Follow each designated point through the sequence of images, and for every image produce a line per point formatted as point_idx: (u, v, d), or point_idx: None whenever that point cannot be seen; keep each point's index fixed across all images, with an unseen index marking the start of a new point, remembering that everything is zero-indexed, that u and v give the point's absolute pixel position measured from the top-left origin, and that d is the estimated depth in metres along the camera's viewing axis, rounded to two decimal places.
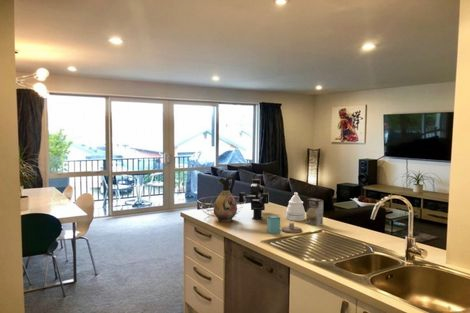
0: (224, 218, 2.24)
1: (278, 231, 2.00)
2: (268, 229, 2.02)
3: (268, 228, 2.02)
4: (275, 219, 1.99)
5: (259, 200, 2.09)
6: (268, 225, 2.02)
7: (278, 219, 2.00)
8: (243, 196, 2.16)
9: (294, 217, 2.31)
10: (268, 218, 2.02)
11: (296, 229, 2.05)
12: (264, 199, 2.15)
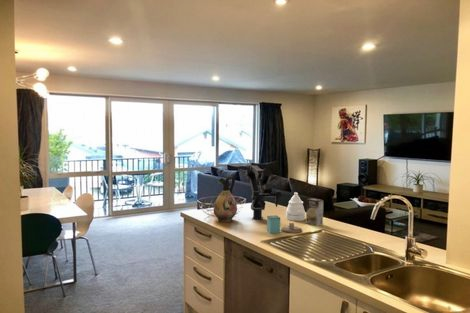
0: (224, 218, 2.24)
1: (278, 231, 2.00)
2: (268, 229, 2.02)
3: (268, 228, 2.02)
4: (275, 219, 1.99)
5: None
6: (268, 225, 2.02)
7: (278, 219, 2.00)
8: (259, 199, 2.10)
9: (294, 217, 2.31)
10: (268, 218, 2.02)
11: (296, 229, 2.05)
12: None
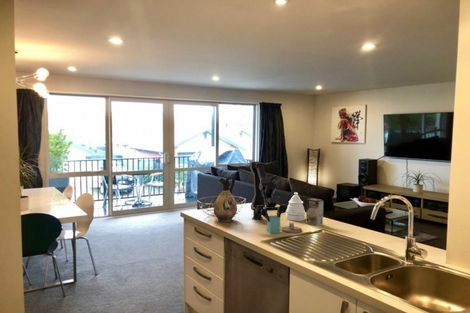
0: (224, 218, 2.24)
1: (278, 231, 2.00)
2: (268, 229, 2.02)
3: (268, 228, 2.02)
4: (275, 219, 1.99)
5: None
6: (268, 225, 2.02)
7: (278, 219, 2.00)
8: (265, 213, 2.02)
9: (294, 217, 2.31)
10: None
11: (296, 229, 2.05)
12: None
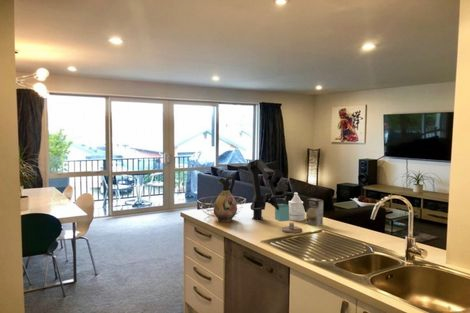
0: (224, 218, 2.24)
1: (287, 219, 2.01)
2: (277, 217, 2.02)
3: (277, 216, 2.02)
4: (284, 207, 2.00)
5: None
6: (277, 213, 2.02)
7: (287, 207, 2.01)
8: (274, 201, 2.02)
9: (294, 217, 2.31)
10: None
11: (296, 229, 2.05)
12: None
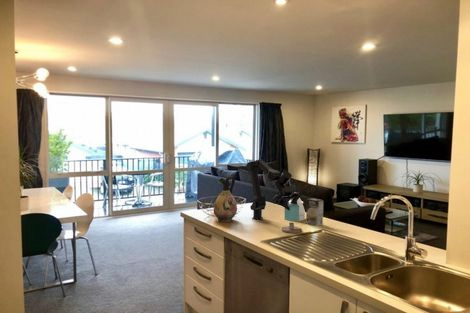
0: (224, 218, 2.24)
1: (297, 219, 2.04)
2: (287, 217, 2.04)
3: (287, 216, 2.04)
4: (295, 207, 2.03)
5: None
6: (287, 213, 2.04)
7: (297, 207, 2.04)
8: (284, 202, 2.04)
9: None
10: None
11: (296, 229, 2.05)
12: None
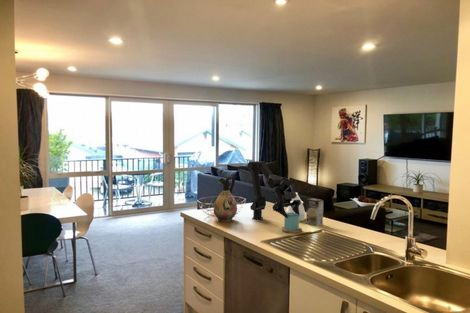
0: (224, 218, 2.24)
1: (297, 228, 2.05)
2: (287, 226, 2.05)
3: (287, 225, 2.04)
4: (295, 216, 2.03)
5: (299, 215, 2.07)
6: (287, 222, 2.05)
7: (297, 216, 2.04)
8: (282, 209, 2.03)
9: None
10: None
11: None
12: None
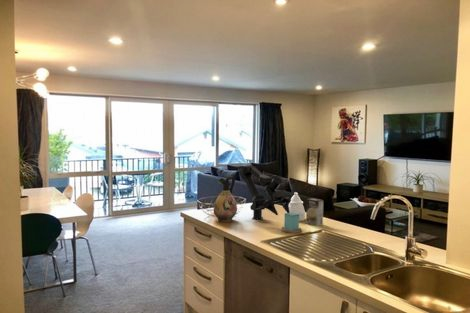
0: (224, 218, 2.24)
1: (297, 228, 2.05)
2: (287, 226, 2.05)
3: (287, 225, 2.04)
4: (295, 216, 2.03)
5: (289, 212, 2.15)
6: (287, 222, 2.05)
7: (297, 216, 2.04)
8: (273, 207, 2.11)
9: None
10: (287, 216, 2.05)
11: None
12: None
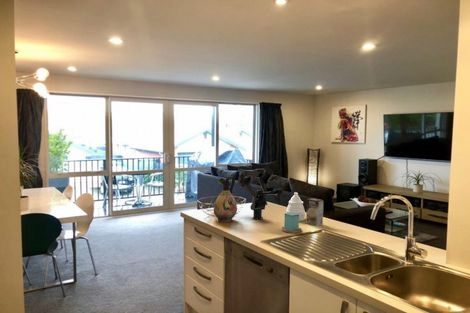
0: (224, 218, 2.24)
1: (297, 228, 2.05)
2: (287, 226, 2.05)
3: (287, 225, 2.04)
4: (295, 216, 2.03)
5: None
6: (287, 222, 2.05)
7: (297, 216, 2.04)
8: (263, 197, 2.16)
9: None
10: (287, 216, 2.05)
11: None
12: None
